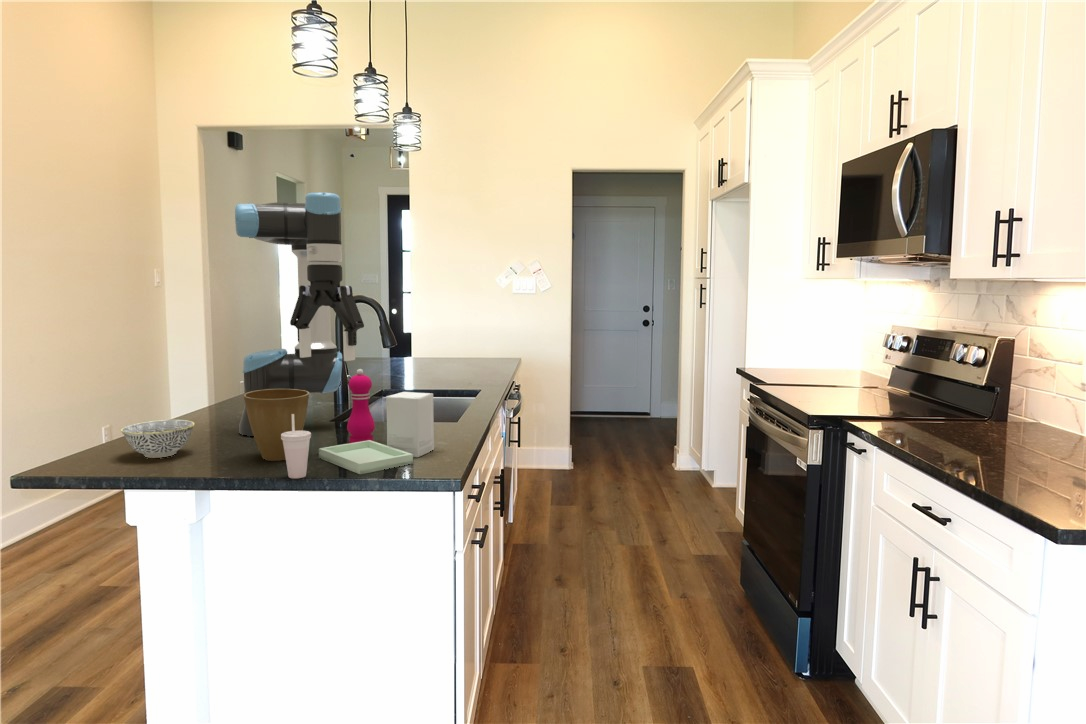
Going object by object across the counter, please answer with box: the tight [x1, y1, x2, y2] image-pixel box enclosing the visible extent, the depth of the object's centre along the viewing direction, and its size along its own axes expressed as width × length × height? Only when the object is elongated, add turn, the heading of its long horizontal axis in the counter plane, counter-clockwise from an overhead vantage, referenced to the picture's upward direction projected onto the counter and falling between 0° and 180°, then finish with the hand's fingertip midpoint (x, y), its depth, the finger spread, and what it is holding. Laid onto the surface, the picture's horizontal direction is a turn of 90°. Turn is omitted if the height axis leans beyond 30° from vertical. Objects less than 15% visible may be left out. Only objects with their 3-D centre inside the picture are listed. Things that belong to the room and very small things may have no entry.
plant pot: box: [243, 389, 310, 462], centre depth 175 cm, size 15×15×16 cm
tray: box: [318, 440, 414, 475], centre depth 173 cm, size 20×14×2 cm
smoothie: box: [281, 414, 312, 479], centre depth 159 cm, size 6×6×14 cm
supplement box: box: [385, 391, 435, 458], centre depth 181 cm, size 9×9×15 cm
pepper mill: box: [346, 368, 376, 444], centre depth 191 cm, size 7×7×20 cm
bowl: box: [120, 419, 196, 458], centre depth 176 cm, size 16×16×8 cm
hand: (327, 358), depth 162 cm, fingers open, 13 cm apart
